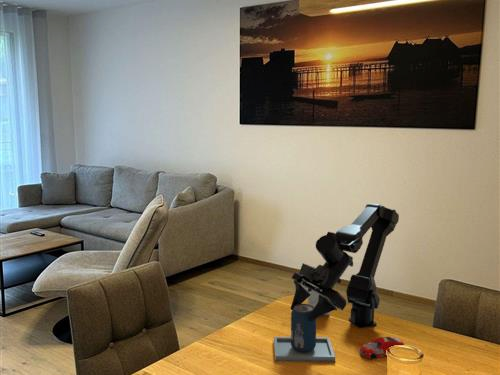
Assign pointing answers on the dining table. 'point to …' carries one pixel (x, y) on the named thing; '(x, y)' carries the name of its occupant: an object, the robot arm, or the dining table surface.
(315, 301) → the supplement box
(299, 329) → the soda can
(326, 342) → the tray
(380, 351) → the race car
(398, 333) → the dining table surface
